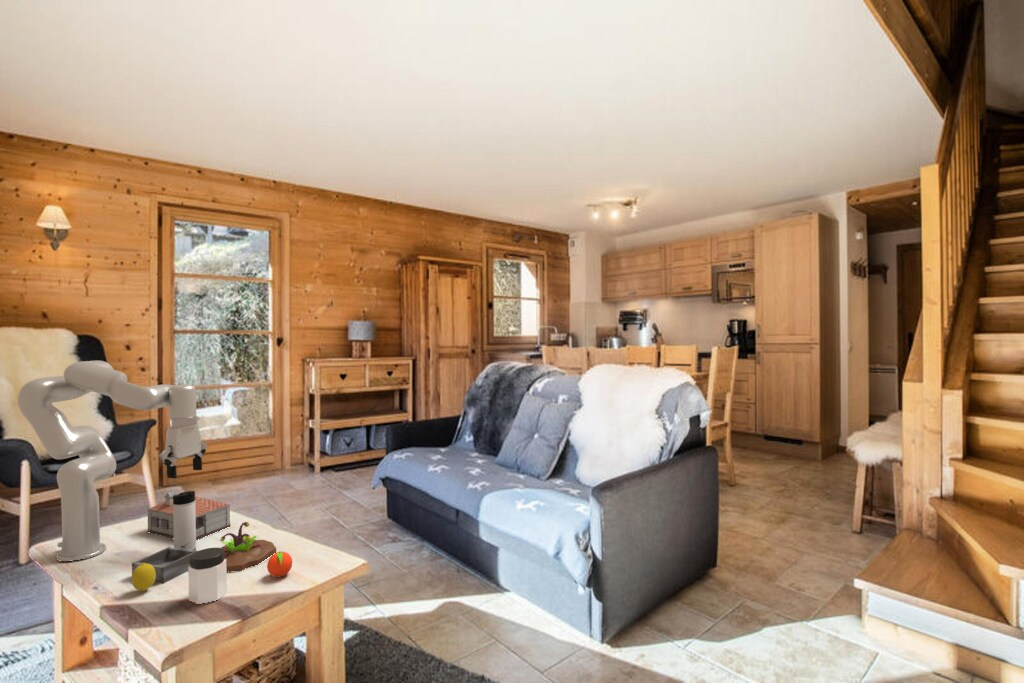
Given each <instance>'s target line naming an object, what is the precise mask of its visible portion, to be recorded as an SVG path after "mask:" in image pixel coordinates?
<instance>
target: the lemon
mask: <svg viewBox="0 0 1024 683" xmlns="http://www.w3.org/2000/svg"><path fill="white" fill-rule="evenodd" d="M155 578H156V572H155V569H154V567H153V566H152V565H151V564H147V563H142V564H141V565H139V566H138V567H137V568H136V569H135V570H134V572H133V574H132V573H131V585H132V587H133V588H134V589H135V590H137V591H141V592H145V591H147V590H148V589H149V588H150V587H152V586H153V585H154V583H155V582H154V581H155Z"/></svg>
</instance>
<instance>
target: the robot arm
mask: <svg viewBox="0 0 1024 683" xmlns="http://www.w3.org/2000/svg"><path fill="white" fill-rule="evenodd" d="M91 392H93V393H95V394H96V393H97V394H99V395H104V396H106V397H109V398H110V399H111V400H112V401H114V402H115V403H116V404H118V405H121V406H124V407H127V408H131V409H135V410H138V411H139V410H140V411H151V410H157V409H161V408H167V407H169V428H167V429H166V436H165V446H164V447H165V448H164V450H162V451H161V452H160V453H159V454H158V458H159V459H160V461H161V463H162V464H164V466H165V467H166V478H168V479H176V478H178V476H177V475H178V474H177V473H178V472H177V465H176V463H177V461H178V460H179V459H184V458H187V457H191V456H192V470H193V471H202V470H203V458H204V454H205V453H206V452H207V448H208V446H209V445H208V443H207V442H205V441H203V440H202V438H201V432H200V428H199V427H200V426H199V424H198V420H199V417H198V416H197V390H196V386H195V385H193V384H178V385H176V384H175V385H174V384H167V383H166V384H158V385H157V384H156V385H150V386H149V385H148V386H143V385H139V384H135V383H132V382H128V376H127V374H126V373H124V372H123V371H120V370H117V369H114V368H113V366H112V365H111V364H110V363H108V362H106V361H104V360H89V361H88V360H86V361H85V360H84V361H82V360H81V361H76V362H74V363H71V364H70V365H68V366H66V368H65V369H64V371H63V375H61V376H60V375H58V376H47V377H40V378H36V379H33V380H30V381H27V382H26V383H24V384H23V386H21V388H20V389H19V391H18V395H17V405H18V408H19V410H20V412H21V413H22V415H23V416H24V418H25V419H26V420H27V422H28V423H29V424H30V425H31V427H32V429H33V430H34V432H35V434H36V435H37V437H38V439H39V440H40V442H41V444H42V445H43V447H44V449H45V451H46V453H47V454H48V455H49V456H50V457H51V458H53V459H54V460H65V459H69V458H72V457H76V456H78V458H75V459H71V460H69V461H67V462H65V463H64V464H63V465H62V466H61V467H60V468H59V469H58V471H57V473H56V482H57V485H58V489H59V493H60V494H59V495H60V501H61V502H60V504H61V505H60V506H61V509H60V510H61V536H62V537H61V538H62V539H61V540H62V541H61V542H58V543H57V546H56V547H58V548H61V551H60V552H59V553H57V554H56V557H55V559H56V558H57V559H58V560H61V561H70V560H79V561H81V560H80V559H83V560H86V558H87V559H90V557H91V558H94V557H96V556H98V555H100V554H102V553H104V552H105V551H106V549H107V545H106V543H102V542H101V526H100V524H101V522H100V499H99V498H100V496H99V493H98V491H97V489H96V488H95V485H94V484H96V483H99V482H102V481H104V480H106V479H108V478H110V477H112V476H113V475H114V473H115V471H116V470H117V461H116V458H115V457H114V455H113V452H112V451H111V449H110V448H109V446H108V444H107V442H106V441H105V438H104V437H103V436H102V435H101V432H99V431H98V430H97V429H96V428H95V427H93V426H90V425H78V426H73V425H72V424H71V422H70V421H69V420H68V418H67V416H66V415H65V414H64V412H62V410H60V409H59V408H57V407H56V406H54V405H53V403H59V402H65V401H70V400H71V401H72V400H75V399H79V398H81V397H83V396H85V395H87V394H89V393H91ZM93 556H94V557H93Z"/></svg>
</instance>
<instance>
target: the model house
mask: <svg viewBox="0 0 1024 683" xmlns="http://www.w3.org/2000/svg"><path fill="white" fill-rule="evenodd" d="M174 495H178V494H177V493H176V491H174V490H173V491H169V492H167V493H166V494H165V495H164V499H165V501H163V502H161V503H159V504H156V505H153V506H151V507H149V508H147V510H146V511H147V533H148V532H150V533H149V534H151V533H153V534H152V535H155V534H157V535H156V536H159V535H161V536H160V537H164V536H165V537H164V538H168V537H169V539H173V538H174V534H173V496H174ZM230 508H231V504H230V503H225V502H221V501H217V500H213V499H208V498H204V497H203V498H202V497H199V496H195V513H196V540H197V541H198V539H199V540H202V539H204V538H206V537H205V536H207V537H209V536H208V535H210V534H212V535H214V534H213V533H215V532H217V531H220V530H222V529H225V528H227V527H230V526H231V519H230V518H231V513H230V512H231V509H230ZM231 527H232V526H231ZM231 527H230V528H231ZM227 529H228V528H227ZM225 530H226V529H225ZM222 531H223V530H222ZM220 532H221V531H220ZM217 533H218V532H217ZM215 534H216V533H215ZM210 536H211V535H210ZM203 537H204V538H203ZM201 538H202V539H201Z"/></svg>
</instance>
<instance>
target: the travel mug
mask: <svg viewBox="0 0 1024 683" xmlns="http://www.w3.org/2000/svg"><path fill="white" fill-rule="evenodd" d="M195 497H196V491H195V490H187V491H184V492H183V491H182V492H179V494H177V495H174V496H173V534H174V539H173V548H179V549H187V550H195V551H197V541H196V513H195Z"/></svg>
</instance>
